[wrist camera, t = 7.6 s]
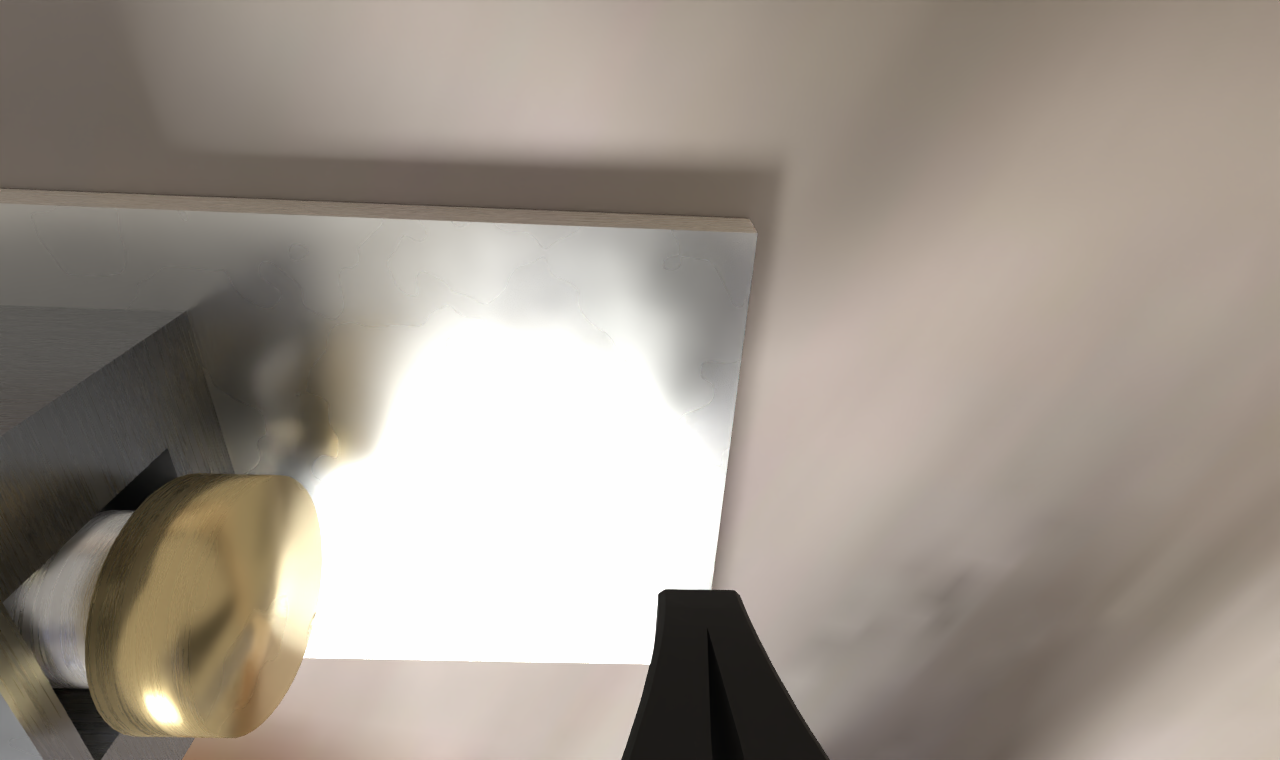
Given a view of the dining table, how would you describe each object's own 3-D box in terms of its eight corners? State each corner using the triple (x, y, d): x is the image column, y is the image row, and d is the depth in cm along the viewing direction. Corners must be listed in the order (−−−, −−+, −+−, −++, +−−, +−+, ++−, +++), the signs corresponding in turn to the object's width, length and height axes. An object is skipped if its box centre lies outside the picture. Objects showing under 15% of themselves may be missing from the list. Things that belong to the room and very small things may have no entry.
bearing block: (749, 218, 13) (850, 394, 7) (698, 635, 19) (730, 929, 13) (-409, 172, 13) (-1390, 324, 6) (-99, 619, 18) (-462, 922, 12)
